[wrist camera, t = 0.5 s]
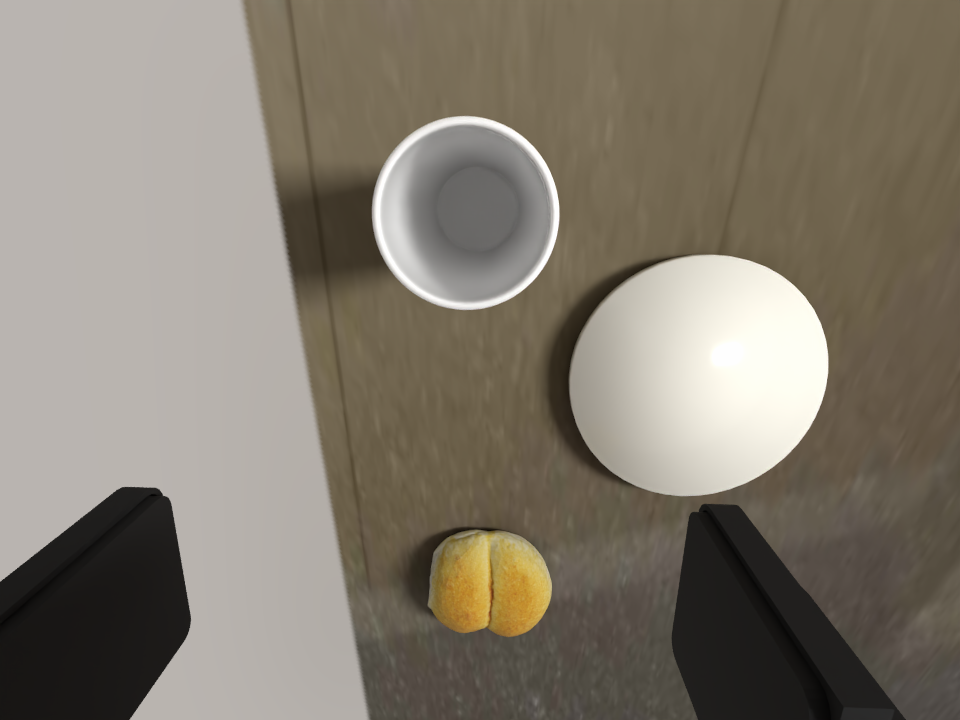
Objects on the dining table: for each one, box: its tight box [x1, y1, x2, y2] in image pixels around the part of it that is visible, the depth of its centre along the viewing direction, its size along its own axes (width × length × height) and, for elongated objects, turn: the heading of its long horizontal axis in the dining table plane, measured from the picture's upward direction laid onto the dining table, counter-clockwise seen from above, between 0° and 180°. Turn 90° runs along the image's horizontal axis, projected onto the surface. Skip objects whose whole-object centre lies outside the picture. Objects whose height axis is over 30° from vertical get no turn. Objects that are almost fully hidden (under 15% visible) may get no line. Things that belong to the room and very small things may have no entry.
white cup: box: [372, 116, 559, 310], centre depth 26 cm, size 7×7×15 cm
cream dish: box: [569, 254, 828, 496], centre depth 35 cm, size 16×16×2 cm
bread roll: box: [428, 529, 552, 637], centre depth 39 cm, size 8×9×4 cm
